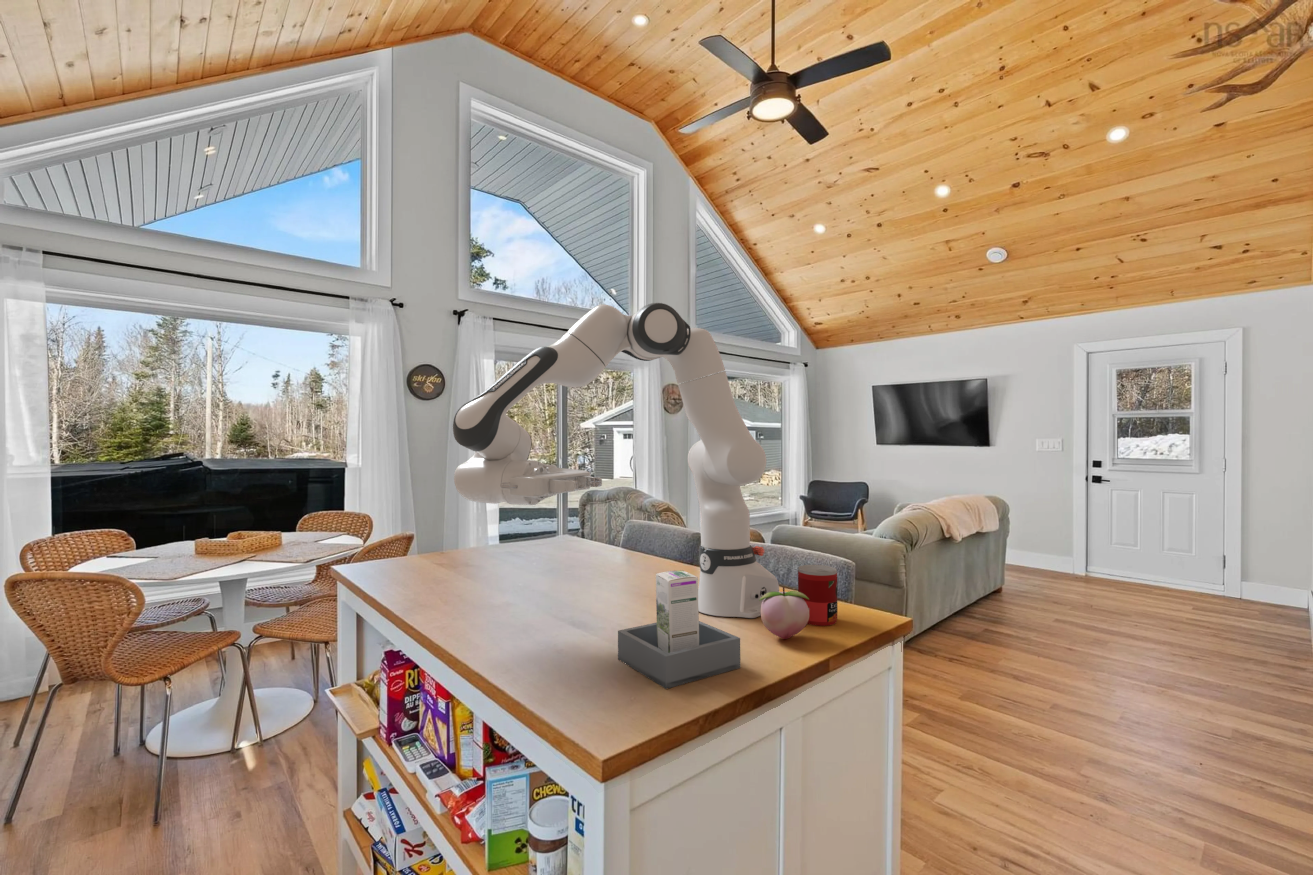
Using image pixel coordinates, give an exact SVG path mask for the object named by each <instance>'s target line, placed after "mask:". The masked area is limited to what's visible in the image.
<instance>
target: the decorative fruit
mask: <svg viewBox="0 0 1313 875" xmlns="http://www.w3.org/2000/svg"><path fill="white" fill-rule="evenodd" d="M785 588H786V587H785V586H782V591H779V592H769V593H766V594H765V595H763V596H762V597H761V598H760V600H763V599H764V600H763V602H762V604H761V616H760V618H761V621H762V624H763V625H764V628H766V630H768V631H769V632H770V633H771V634H773V635H774V636H776V637H779V638H781V639H783V640H787V639H790V638H792V637H794V636H795V635H797V634H798V633H800V632H801V631H802V630H804V628H805V627H806V625H808V624H807V623H808V620H809V609H808V606H807V604H806V602H805V601H804V599H803V598H806V599H809V598H808V597H807V596H806V595H804V594H803V593H801V592H798V590H789V591H786V590H785ZM802 597H803V598H802ZM760 600H759V601H760Z"/></svg>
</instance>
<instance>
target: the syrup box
mask: <svg viewBox="0 0 1313 875" xmlns="http://www.w3.org/2000/svg"><path fill="white" fill-rule="evenodd" d="M655 573H656V574H655V596H656V597H655V598H656V599H655V603H656V605H655V606H656V623H657V648H659V649H661V650H662V651H664V652H666V653H670V652H674V651H679V650H683V649H687V648H691V647H695V646H699V621H700V616H699V610H698V587H699V577H698V576H696V575H694V574H692V573H690V572H687V571H685V570H681V569H680V570H668V571H663V572H658V573H657V572H655Z"/></svg>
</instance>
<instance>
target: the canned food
mask: <svg viewBox="0 0 1313 875" xmlns="http://www.w3.org/2000/svg"><path fill="white" fill-rule="evenodd" d="M797 591H798V592H801V593H803V594H804V595H806V596H807V597H808V598H809V599H806V598H803V597H802V598H803V599H804V601H805V602H806V604H807V606H808V609H809V620H808V623H807V624H806V625H811V626H814V627H815V626H816V627H817V626H818V627H827V626H833V625H835V624H837V621H838V569H837V568H835V567H834V566H829V565H823V564H805V565H803V564H802V565H800V566H798V568H797Z"/></svg>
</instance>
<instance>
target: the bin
mask: <svg viewBox="0 0 1313 875" xmlns="http://www.w3.org/2000/svg"><path fill="white" fill-rule="evenodd" d="M617 660H618V661H620V660H621V661H620V662H622V663H623V662H624V664H625V663H626V664H625V665H627V666H628V665H629V667H630V668H631V667H632V669H633V670H635V671H636V670H637V671H636V672H638V673H639V672H640V674H641V675H642V676H644V675H645V676H644V677H646V678H647V679H649V680H651V681H652V682H654V683H655V684H657V685H659V686H660V687H662V688H664V689H665V690H667V688H668V689H671V688H674V687H679V686H681V685H686V684H689V683H692V681H693V682H696V681H699V679H700V680H703V679H707V678H710V677H714V676H717V675H721V674H724V673H728V672H731V671H734V669H735V670H737V669H741V637H739V636H737V635H734V634H731V633H729V632H726V631H724V630H722V629H719V628H717V627H714V626H712V625H710V624H708V623H705V622H703V621H700V620H699V646H695V647H691V648H687V649H683V650H679V651H674V652H670V653H666V652H664V651H662V650H661V649H659V648H657V622H653V623H648V624H644V625H639V626H638V625H637V626H634V627H633V626H632V627H629V628H625V629H620V630H619V629H618V630H617ZM713 675H714V676H713ZM688 682H689V683H688ZM685 683H686V684H685ZM678 685H679V686H678Z"/></svg>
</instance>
